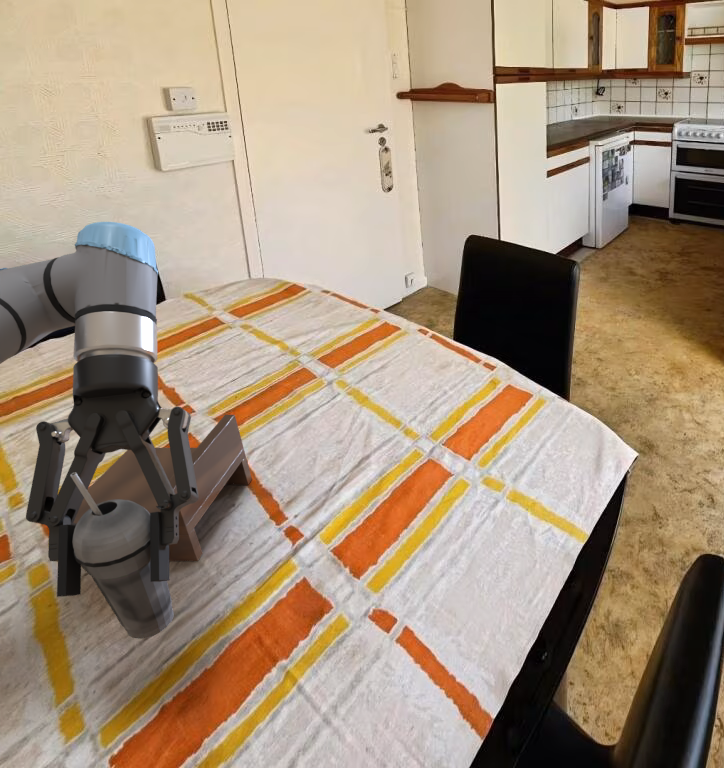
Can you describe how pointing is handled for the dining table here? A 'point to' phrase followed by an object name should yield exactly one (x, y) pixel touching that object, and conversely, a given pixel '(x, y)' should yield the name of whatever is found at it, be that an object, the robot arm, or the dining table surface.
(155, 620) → the beverage cup
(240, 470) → the shelf
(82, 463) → the robot arm
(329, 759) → the dining table surface
